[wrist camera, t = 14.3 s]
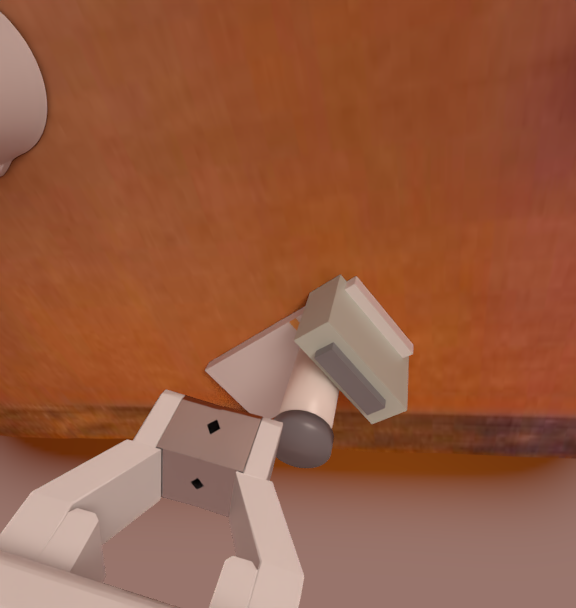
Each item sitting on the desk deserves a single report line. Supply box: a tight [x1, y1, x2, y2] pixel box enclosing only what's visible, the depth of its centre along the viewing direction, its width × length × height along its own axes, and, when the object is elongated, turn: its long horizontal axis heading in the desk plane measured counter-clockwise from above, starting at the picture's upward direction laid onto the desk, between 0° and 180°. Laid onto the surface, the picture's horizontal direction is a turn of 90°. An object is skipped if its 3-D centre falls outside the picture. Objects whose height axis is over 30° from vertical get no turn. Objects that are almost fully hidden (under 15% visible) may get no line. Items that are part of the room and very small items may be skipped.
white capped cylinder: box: [274, 347, 339, 468], centre depth 47 cm, size 6×6×13 cm
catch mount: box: [205, 274, 413, 424], centre depth 52 cm, size 22×12×9 cm, turn 130°
